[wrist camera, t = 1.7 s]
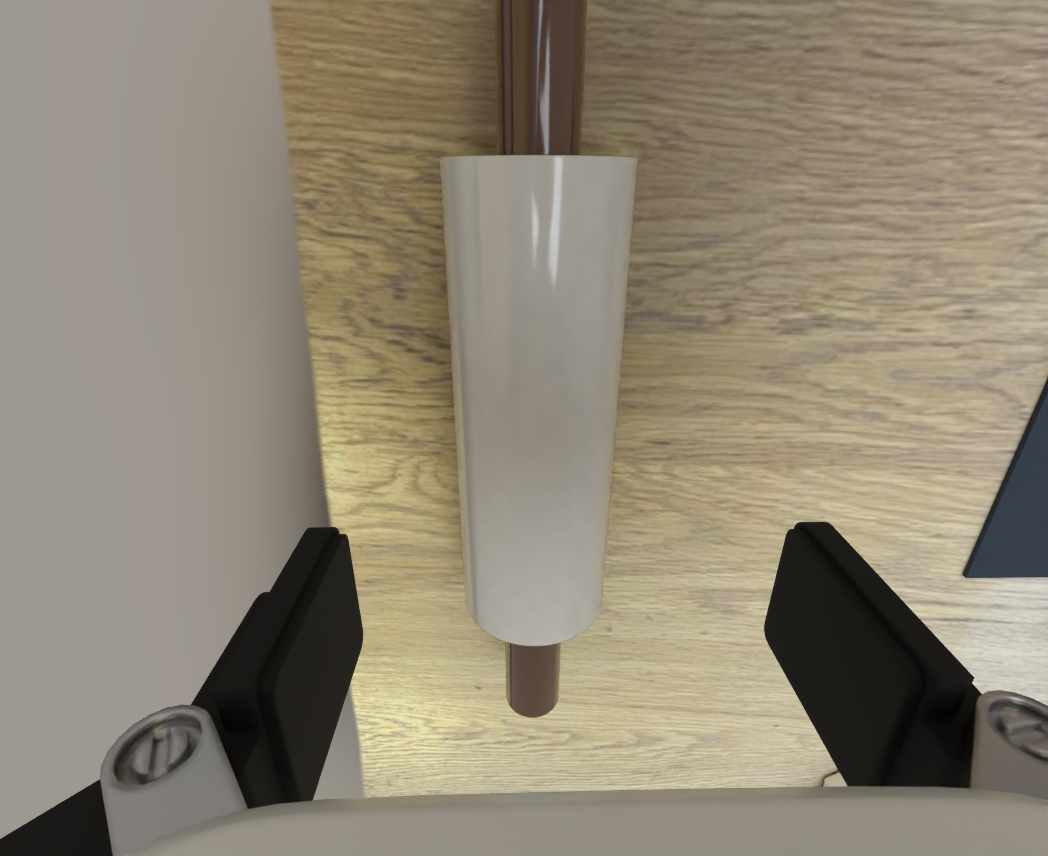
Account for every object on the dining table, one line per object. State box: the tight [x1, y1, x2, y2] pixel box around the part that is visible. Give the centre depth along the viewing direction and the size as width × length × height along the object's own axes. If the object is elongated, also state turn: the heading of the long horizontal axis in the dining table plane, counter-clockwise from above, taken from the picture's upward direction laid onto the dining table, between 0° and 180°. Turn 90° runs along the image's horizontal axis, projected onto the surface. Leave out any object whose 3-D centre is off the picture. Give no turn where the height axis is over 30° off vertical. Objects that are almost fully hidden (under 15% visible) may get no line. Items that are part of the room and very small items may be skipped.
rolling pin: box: [440, 0, 638, 718], centre depth 19 cm, size 28×6×6 cm, turn 0°
